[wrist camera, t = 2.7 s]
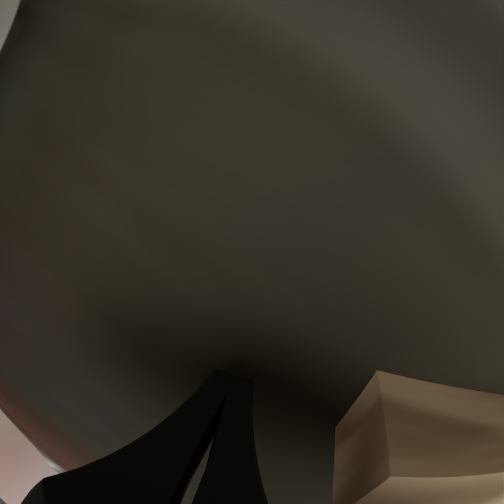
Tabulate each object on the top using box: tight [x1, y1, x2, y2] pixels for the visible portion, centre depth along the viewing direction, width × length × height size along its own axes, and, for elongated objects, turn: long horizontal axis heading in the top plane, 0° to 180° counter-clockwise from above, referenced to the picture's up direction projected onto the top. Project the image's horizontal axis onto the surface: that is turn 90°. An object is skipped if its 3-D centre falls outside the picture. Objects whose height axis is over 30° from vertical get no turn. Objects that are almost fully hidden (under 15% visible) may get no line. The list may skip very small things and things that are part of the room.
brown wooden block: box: [332, 370, 504, 504], centre depth 8 cm, size 4×10×4 cm, turn 75°
